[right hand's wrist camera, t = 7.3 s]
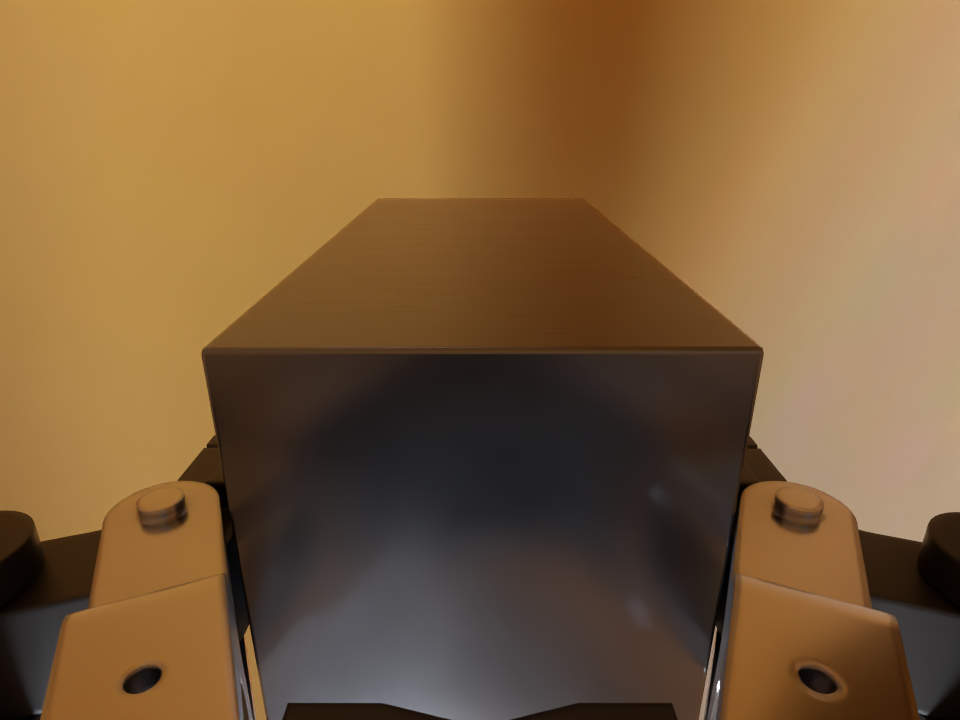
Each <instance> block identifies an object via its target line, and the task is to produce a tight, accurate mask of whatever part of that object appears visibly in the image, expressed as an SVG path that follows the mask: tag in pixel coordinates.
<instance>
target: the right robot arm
mask: <svg viewBox="0 0 960 720" xmlns="http://www.w3.org/2000/svg"><path fill="white" fill-rule="evenodd" d="M248 625H249V618H248V613H247V607H246V601H245V596H244V590H243V585H242V579H241V573H240V568H239V562H238V557H237V551H236V545H235V540H234V534H233V529H232V523H231V517H230V512H229V506H228V500H227V495H226V489H225V484H224V478H223V472H222V467H221V461H220V456H219V450H218V444H217V439H216V435H214V437H213V438H212V439H211V440H210V441H209V443H208V444H207V448H204V449H203V450H202V451H201V452H200V454H199V455H198V456H197V457H196V459H195V460H194V461H193V462H192V463H191V465H190V466H189V467H188V468H187V470H186V471H185V472H184V473H183V474H182V476H181V477H180V478H179V479H178V481H175V482H168V483H163V484H159V485H155V486H151V487H148V488H145V489H143V490H140V491H138V492H136V493H134V494H132V495H130V496H128V497H126V498H125V499H123V500H121V501H120V502H119V503H117V504H116V505H115V506H114V507H113V508H112V509H111V510H110V511H109V512H108V513H107V515H106V516H105V518H104V521H103V525H102V530H99V531H94V532H90V533H84V534H79V535H74V536H68V537H63V538H58V539H53V540H47V541H42V542H40V539H39V536H38V533H37V530H36V527H35V524H34V521H33V519H32V518H31V517H30V516H29V515H27V514H25V513H22V512H17V511H0V720H256V715H255V707H254V700H253V692H252V685H251V677H250V670H249V662H248V654H247V648H246V643H245V637H244V634H245V632H246V630H247V628H248ZM715 625H716V627H717V631H716V637H715V642H714V648H713V654H712V662H711V669H710V677H709V685H708V692H707V700H706V707H705V715H704V720H960V512H952V513H944V514H940V515H937V516H935V517H934V518H932V519H931V520H930V522H929V524H928V527H927V530H926V533H925V536H924V540H923V543H922V542H917V541H912V540H907V539H901V538H896V537H891V536H885V535H880V534H875V533H870V532H866V531H861V530H858V526H857V521H856V518H855V516H854V515H853V513H852V512H851V511H850V510H849V509H848V508H847V507H846V506H845V505H844V504H843V503H841V502H840V501H839V500H837V499H835V498H834V497H832V496H830V495H828V494H826V493H824V492H822V491H820V490H817V489H815V488H812V487H809V486H805V485H801V484H797V483H792V482H787V481H786V479H785V478H784V477H783V476H782V475H781V473H780V472H779V471H778V470H777V469H776V467H775V466H774V465H773V464H772V463H771V461H770V460H769V459H768V458H767V457H766V455H765V454H764V453H763V452H762V451H761V449H757V444H756V443H755V442H754V441H753V440H752V438H751V437H750V436H749V439H748V444H747V450H746V456H745V461H744V467H743V472H742V478H741V484H740V489H739V495H738V500H737V506H736V512H735V517H734V523H733V529H732V534H731V540H730V545H729V551H728V557H727V562H726V568H725V573H724V579H723V585H722V590H721V596H720V602H719V607H718V613H717V618H716V624H715ZM282 720H450V719H446V718H442V717H437V716H433V715H429V714H425V713H421V712H417V711H413V710H409V709H405V708H401V707H397V706H393V705H389V704H384V703H288V704H287V707H286V710H285V713H284V716H283V719H282ZM510 720H678V719H677V716H676V713H675V710H674V707H673V704H672V703H576V704H571V705H567V706H563V707H559V708H555V709H551V710H547V711H543V712H539V713H535V714H531V715H527V716H523V717H518V718H514V719H510Z"/></svg>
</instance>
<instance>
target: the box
mask: <svg viewBox="0 0 960 720" xmlns="http://www.w3.org/2000/svg"><path fill="white" fill-rule="evenodd" d="M763 354H764V353H763V349H762V347H761V346H760V345H758V344H757V343H756V342H755V341H754V340H752V339H751V338H750V337H749V336H748V335H746V334H745V333H744V332H743V331H742V330H740V329H739V328H738V327H737V326H736V325H734V324H733V323H732V322H731V321H730V320H728V319H727V318H726V317H725V316H724V315H722V314H721V313H720V312H719V311H718V310H716V309H715V308H714V307H713V306H712V305H710V304H709V303H708V302H707V301H706V300H704V299H703V298H702V297H701V296H700V295H698V294H697V293H696V292H695V291H694V290H692V289H691V288H690V287H689V286H688V285H686V284H685V283H684V282H683V281H682V280H680V279H679V278H678V277H677V276H676V275H674V274H673V273H672V272H671V271H670V270H669V269H667V268H666V267H665V266H664V265H663V264H661V263H660V262H659V261H658V260H657V259H655V258H654V257H653V256H652V255H651V254H649V253H648V252H647V251H646V250H645V249H643V248H642V247H641V246H640V245H639V244H637V243H636V242H635V241H634V240H633V239H631V238H630V237H629V236H628V235H627V234H625V233H624V232H623V231H622V230H621V229H619V228H618V227H617V226H616V225H615V224H613V223H612V222H611V221H610V220H609V219H607V218H606V217H605V216H604V215H603V214H601V213H600V212H599V211H598V210H597V209H595V208H594V207H593V206H592V205H591V204H589V203H588V202H587V201H586V200H585V199H583V198H500V199H377V200H376V201H375V202H374V203H372V204H371V205H370V206H369V207H368V208H367V209H365V210H364V211H363V212H362V213H361V214H360V215H358V216H357V217H356V218H355V219H354V220H353V221H351V222H350V223H349V224H348V225H347V226H346V227H344V228H343V229H342V230H341V231H340V232H339V233H337V234H336V235H335V236H334V237H333V238H332V239H330V240H329V241H328V242H327V243H326V244H325V245H323V246H322V247H321V248H320V249H319V250H318V251H316V252H315V253H314V254H313V255H312V256H310V257H309V258H308V259H307V260H306V261H305V262H303V263H302V264H301V265H300V266H299V267H298V268H296V269H295V270H294V271H293V272H292V273H291V274H289V275H288V276H287V277H286V278H285V279H284V280H282V281H281V282H280V283H279V284H278V285H277V286H275V287H274V288H273V289H272V290H271V291H270V292H268V293H267V294H266V295H265V296H264V297H263V298H261V299H260V300H259V301H258V302H257V303H256V304H254V305H253V306H252V307H251V308H250V309H249V310H247V311H246V312H245V313H244V314H243V315H242V316H240V317H239V318H238V319H237V320H236V321H235V322H233V323H232V324H231V325H230V326H229V327H228V328H226V329H225V330H224V331H223V332H222V333H221V334H219V335H218V336H217V337H216V338H215V339H214V340H212V341H211V342H210V343H209V344H208V345H207V346H205V347H204V348H203V350H202V360H203V366H204V372H205V377H206V383H207V388H208V394H209V400H210V405H211V411H212V416H213V422H214V428H215V433H216V439H217V444H218V450H219V456H220V461H221V467H222V472H223V478H224V484H225V489H226V495H227V500H228V506H229V512H230V517H231V523H232V529H233V534H234V540H235V545H236V551H237V557H238V562H239V568H240V573H241V579H242V585H243V590H244V596H245V601H246V607H247V613H248V618H249V624H250V629H251V635H252V641H253V646H254V652H255V658H256V663H257V669H258V674H259V680H260V686H261V691H262V697H263V702H264V708H265V714H266V719H267V720H282V719H283V716H284V713H285V710H286V707H287V704H288V703H384V704H389V705H393V706H397V707H401V708H405V709H409V710H413V711H417V712H421V713H425V714H429V715H433V716H437V717H442V718H446V719H450V720H510V719H514V718H518V717H523V716H527V715H531V714H535V713H539V712H543V711H547V710H551V709H555V708H559V707H563V706H567V705H571V704H576V703H672V704H673V707H674V710H675V713H676V716H677V719H678V720H698V719H699V714H700V708H701V703H702V697H703V691H704V686H705V680H706V675H707V669H708V663H709V658H710V652H711V646H712V641H713V635H714V630H715V624H716V618H717V613H718V607H719V602H720V596H721V590H722V585H723V579H724V573H725V568H726V562H727V557H728V551H729V545H730V540H731V534H732V529H733V523H734V517H735V512H736V506H737V500H738V495H739V489H740V484H741V478H742V472H743V467H744V461H745V456H746V450H747V444H748V439H749V433H750V427H751V422H752V416H753V411H754V405H755V399H756V394H757V388H758V383H759V377H760V371H761V366H762V360H763Z"/></svg>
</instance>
